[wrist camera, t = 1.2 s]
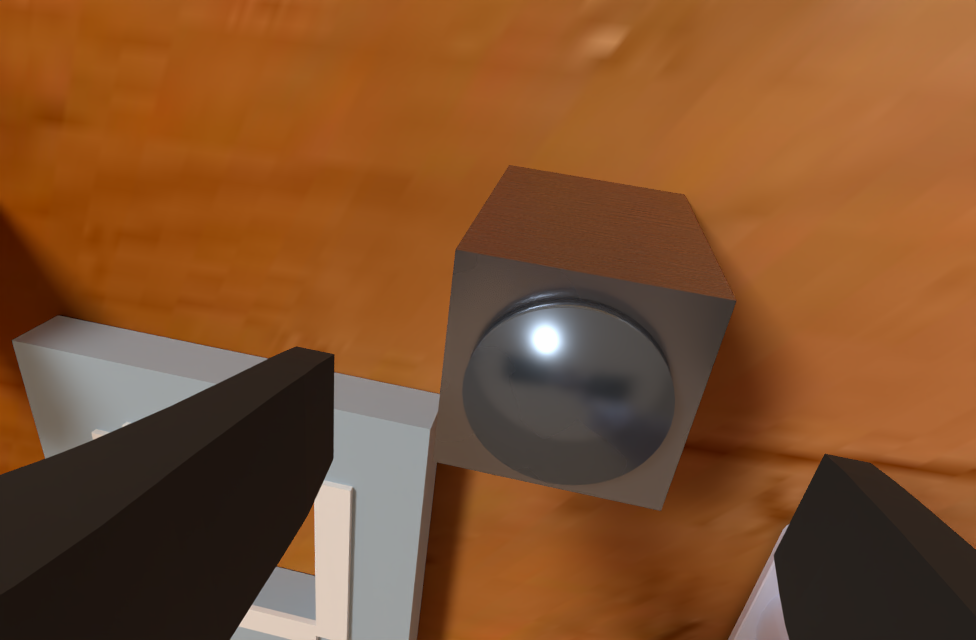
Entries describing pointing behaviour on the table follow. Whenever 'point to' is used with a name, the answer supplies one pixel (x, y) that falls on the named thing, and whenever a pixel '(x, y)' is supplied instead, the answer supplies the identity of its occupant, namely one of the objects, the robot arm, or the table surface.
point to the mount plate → (340, 501)
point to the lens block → (579, 336)
